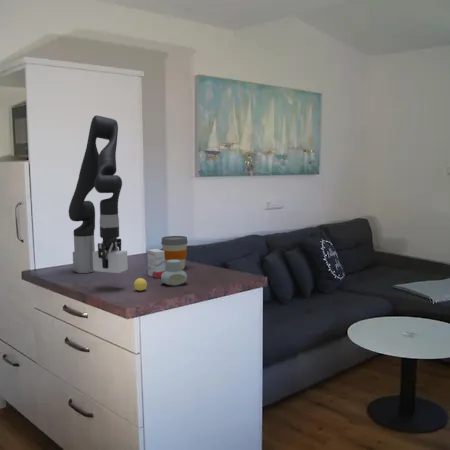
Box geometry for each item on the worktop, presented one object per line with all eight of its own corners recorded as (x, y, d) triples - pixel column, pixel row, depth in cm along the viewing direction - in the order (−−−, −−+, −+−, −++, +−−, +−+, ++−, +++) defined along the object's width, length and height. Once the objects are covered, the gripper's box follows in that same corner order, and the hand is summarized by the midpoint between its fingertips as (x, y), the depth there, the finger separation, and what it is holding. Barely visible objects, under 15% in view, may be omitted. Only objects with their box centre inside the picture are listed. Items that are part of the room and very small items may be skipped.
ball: (144, 285, 197) (138, 294, 199) (151, 282, 202) (145, 291, 203) (135, 277, 198) (129, 286, 200) (142, 274, 203) (136, 283, 205)
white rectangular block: (93, 271, 203) (92, 252, 202) (102, 267, 209) (102, 249, 208) (119, 273, 199) (118, 253, 198) (127, 269, 206) (127, 250, 205)
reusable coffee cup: (164, 266, 251) (163, 235, 249) (189, 265, 250) (188, 235, 248) (160, 271, 238) (159, 239, 236) (186, 271, 238) (186, 239, 236)
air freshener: (184, 281, 218) (183, 258, 216) (189, 285, 210) (189, 261, 209) (159, 283, 214) (158, 259, 213) (163, 287, 206) (163, 263, 205)
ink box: (166, 277, 225) (165, 250, 224) (155, 278, 223) (155, 252, 221) (157, 273, 233) (156, 248, 231) (147, 275, 230) (146, 249, 228)
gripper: (110, 222, 210) (111, 262, 212) (90, 227, 196) (92, 269, 199) (126, 223, 207) (127, 263, 210) (107, 228, 194) (108, 270, 196)
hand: (110, 266), depth 204 cm, fingers closed on white rectangular block, 6 cm apart
